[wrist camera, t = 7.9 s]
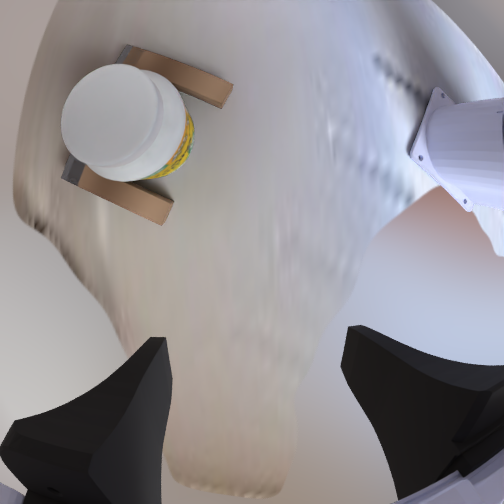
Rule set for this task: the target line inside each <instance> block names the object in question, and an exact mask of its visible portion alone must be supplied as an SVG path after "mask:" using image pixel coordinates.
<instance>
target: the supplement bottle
mask: <svg viewBox="0 0 504 504" xmlns="http://www.w3.org/2000/svg"><path fill="white" fill-rule="evenodd" d="M61 133H62V137H63V140H64V143H65V145H66V147H67V149H68V150H69V151H70V153H71V154H72V155H73V156H74V157H75V158H77V159H78V160H79V161H81V162H83V163H86V164H87V165H88V167H89V168H90V169H91V170H93V171H94V172H95V173H97V174H98V175H100V176H102V177H104V178H107V179H110V180H114V181H121V182H128V181H136V180H143V179H152V178H159V177H163V176H167V175H169V174H171V173H173V172H174V171H176V170H177V169H178V168H180V167H181V166H182V165H183V164H184V163H185V161H186V160H187V159H188V157H189V155H190V153H191V150H192V147H193V143H194V136H195V132H194V125H193V122H192V119H191V117H190V115H189V113H188V111H187V109H186V106H185V104H184V102H183V100H182V98H181V96H180V94H179V92H178V90H177V89H176V88H175V86H174V85H173V84H172V83H171V82H170V81H169V80H167V79H166V78H165V77H163V76H161V75H159V74H157V73H155V72H152V71H148V70H140V69H138V68H136V67H134V66H131V65H126V64H111V65H106V66H103V67H100V68H98V69H96V70H94V71H92V72H90V73H89V74H87V75H86V76H85V77H83V78H82V79H81V80H80V81H79V82H78V83H77V84H76V85H75V87H74V88H73V89H72V91H71V92H70V94H69V96H68V97H67V100H66V102H65V105H64V107H63V111H62V116H61Z"/></svg>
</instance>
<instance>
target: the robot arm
mask: <svg viewBox="0 0 504 504" xmlns="http://www.w3.org/2000/svg"><path fill="white" fill-rule="evenodd" d="M441 95H442V96H441ZM419 156H420V160H419ZM410 157H411V158H412V160H414V161H415V162H416V163H417V164H418V165H419V166H420V167H422V168H423V169H424V170H425V171H426V172H427V173H428V174H429V175H430V176H432V177H433V178H434V179H435V180H436V181H437V182H438V183H439V184H440V185H441V186H442V187H443V188H444V189H445V190H446V191H447V192H448V193H449V194H450V195H451V196H452V197H453V198H454V199H455V200H456V201H457V202H458V203H459V204H460V205H461V206H462V207H463V208H464V209H465V210H466V211H468V212H471V211H472V209H473V206H474V204H477V205H482V206H486V207H490V208H495V209H499V210H503V211H504V98H495V99H487V100H480V101H473V102H467V103H461V104H455V103H454V102H453V101H452V100H451V99H450V98H449V96H448V95H447V94H446V93H445V92H444V91H443V90H442V89H441V88H439V87H435V88H434V89H433V92H432V95H431V98H430V101H429V104H428V106H427V109H426V112H425V115H424V117H423V120H422V123H421V126H420V128H419V131H418V133H417V136H416V138H415V141H414V143H413V146H412V148H411V151H410ZM341 369H342V371H343V374H344V376H345V379H346V381H347V384H348V386H349V387H350V389H351V391H352V393H353V394H354V396H355V397H356V399H357V401H358V402H359V404H360V406H361V407H362V409H363V410H364V412H365V414H366V415H367V417H368V419H369V420H370V422H371V424H372V426H373V427H374V430H375V432H376V434H377V436H378V439H379V441H380V443H381V446H382V448H383V451H384V453H385V456H386V459H387V462H388V464H389V468H390V471H391V474H392V477H393V481H394V484H395V489H396V493H397V497H398V501H396V502H394V503H391V504H502V502H504V365H501V366H499V365H496V366H487V365H476V364H468V363H462V362H457V361H451V360H447V359H443V358H440V357H436V356H433V355H430V354H427V353H424V352H422V351H419V350H416V349H414V348H412V347H409V346H407V345H405V344H402V343H400V342H398V341H396V340H394V339H392V338H390V337H388V336H385V335H383V334H381V333H379V332H377V331H375V330H373V329H370V328H368V327H366V326H362V325H357V326H349V327H348V331H347V336H346V341H345V346H344V352H343V357H342V361H341ZM172 379H173V378H172V373H171V367H170V361H169V355H168V348H167V341H166V337H150V338H149V339H148V340H147V341H146V342H145V343H144V344H143V345H142V346H141V347H140V348H139V349H138V350H137V351H136V352H135V353H134V354H133V355H132V356H131V357H130V358H129V359H128V360H127V361H126V362H125V363H124V364H123V365H122V366H121V367H119V368H118V369H117V370H116V371H115V372H114V373H113V374H111V375H110V376H109V377H108V378H107V379H105V380H104V381H103V382H101V383H100V384H99V385H97V386H96V387H94V388H93V389H91V390H90V391H88V392H86V393H85V394H83V395H81V396H79V397H77V398H75V399H74V400H72V401H70V402H68V403H66V404H64V405H62V406H59V407H57V408H55V409H52V410H49V411H47V412H44V413H41V414H38V415H34V416H31V417H27V418H23V419H19V420H15V421H14V423H13V424H12V426H11V428H10V429H9V431H8V433H7V435H6V437H5V438H4V440H3V442H2V444H1V446H0V456H1V458H2V461H3V462H4V463H5V465H6V466H7V467H8V469H9V470H10V471H11V472H12V473H13V474H14V475H15V477H16V478H18V480H19V481H20V482H21V483H22V484H23V485H24V486H25V487H26V488H27V489H28V490H27V493H26V496H24V495H23V494H21V493H20V492H18V491H16V490H14V489H12V488H10V487H8V486H6V485H4V484H2V483H0V504H161V463H162V449H163V442H164V436H165V431H166V425H167V420H168V415H169V409H170V404H171V396H172Z"/></svg>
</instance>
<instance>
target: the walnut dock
mask: <svg viewBox="0 0 504 504" xmlns="http://www.w3.org/2000/svg"><path fill="white" fill-rule="evenodd" d="M115 64H126V65H131V66H134V67H136V68H138V69H140V70H148V71H152V72H155V73H157V74H159V75H161V76H163V77H165V78H166V79H167V80H169V81H170V82H171V83H172V84H173V85H174V86H175V88H176V89H177V90H179V91H181V92H184V93H186V94H189V95H191V96H193V97H196V98H198V99H200V100H203V101H205V102H207V103H210V104H212V105H214V106H216V107H218V108H221V109H222V107H223V105H224V104H225V102H226V100H227V98H228V97H229V95H230V93H231V91H232V88H233V84H231V83H229V82H227V81H225V80H222V79H220V78H218V77H216V76H213V75H211V74H209V73H206V72H204V71H201V70H199V69H196V68H194V67H191V66H189V65H186V64H184V63H181V62H178V61H176V60H173V59H170V58H167V57H165V56H162V55H159V54H156V53H153V52H150V51H147V50H143V49H140V48H137V47H134V46H130V45H127V46H126V47H125V49H124V50H123V52H122V54H121V55H120V57H119V58H118V60H117V62H116V63H115ZM61 178H62V179H64V180H66V181H68V182H70V183H72V184H74V185H76V186H78V187H80V188H82V189H85V190H87V191H89V192H91V193H93V194H95V195H97V196H99V197H101V198H103V199H106V200H108V201H110V202H112V203H114V204H116V205H118V206H120V207H123V208H125V209H127V210H129V211H131V212H133V213H135V214H137V215H140V216H142V217H144V218H146V219H148V220H150V221H152V222H155V223H157V224H159V225H161V226H162V225H163V224H164V223H165V221H166V219H167V217H168V214H169V212H170V210H171V208H172V205H173V203H174V201H172V200H169V199H167V198H165V197H163V196H161V195H159V194H156V193H154V192H152V191H150V190H148V189H146V188H143V187H141V186H139V185H137V184H135V183H132V182H130V181H128V182H121V181H114V180H110V179H107V178H104V177H102V176H100V175H98V174H97V173H95V172H94V171H93V170H91V169H90V168H89V167H88V165H87V164H86V163H83V162H81V161H79V160H78V159H77V158H75V157H74V156H73V155H72V154H71V153H70V155H69V158H68V160H67V163H66V166H65V168H64V171H63V174H62V177H61Z"/></svg>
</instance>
